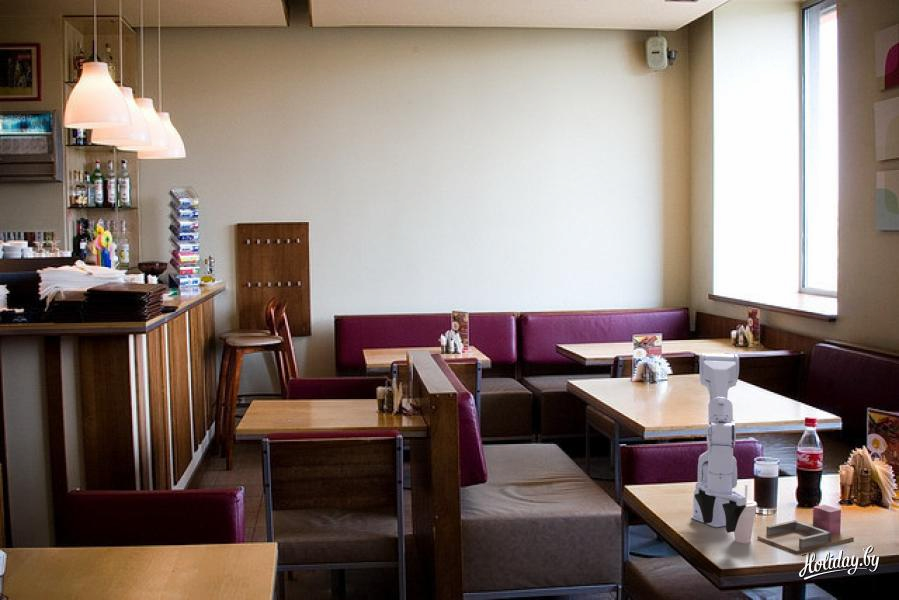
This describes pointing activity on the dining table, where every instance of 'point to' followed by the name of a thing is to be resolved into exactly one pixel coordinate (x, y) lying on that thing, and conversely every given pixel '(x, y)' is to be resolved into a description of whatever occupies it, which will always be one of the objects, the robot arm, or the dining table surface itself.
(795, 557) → the dining table surface
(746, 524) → the smoothie
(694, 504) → the robot arm
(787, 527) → the open-sided grey tray
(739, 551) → the dining table surface
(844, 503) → the dining table surface
